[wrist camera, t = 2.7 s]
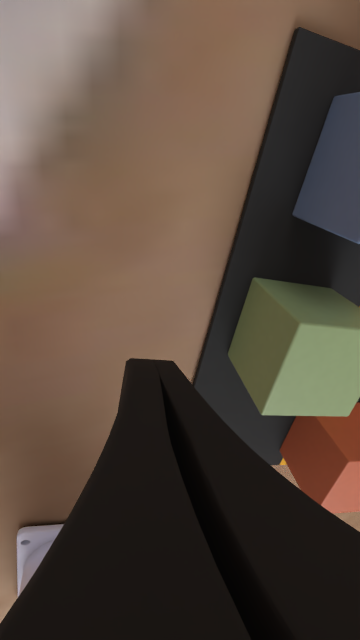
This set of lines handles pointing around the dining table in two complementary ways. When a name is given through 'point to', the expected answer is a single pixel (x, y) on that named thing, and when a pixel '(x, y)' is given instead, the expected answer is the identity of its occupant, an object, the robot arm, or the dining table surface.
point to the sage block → (298, 349)
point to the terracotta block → (326, 459)
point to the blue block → (335, 173)
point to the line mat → (281, 231)
